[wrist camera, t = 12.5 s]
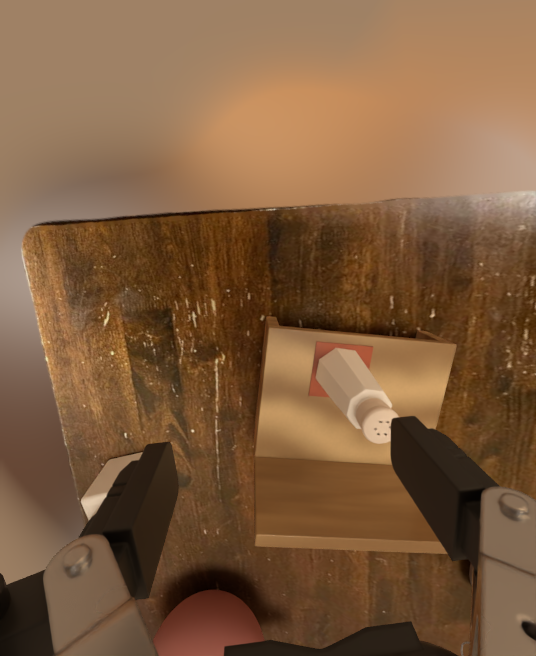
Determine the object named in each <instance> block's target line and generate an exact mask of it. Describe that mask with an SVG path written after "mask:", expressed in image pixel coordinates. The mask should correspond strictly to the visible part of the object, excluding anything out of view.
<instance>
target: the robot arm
mask: <svg viewBox="0 0 536 656" xmlns="http://www.w3.org/2000/svg"><path fill="white" fill-rule="evenodd" d="M390 456H391V462H392V466H393V469H394V471H395V473H396V475H397V476H398V478H399V479H400V481H401V482H402V484H403V486H404V487H405V489H406V490H407V492H408V493H409V495H410V496H411V498H412V499H413V501H414V503H415V504H416V506H417V507H418V509H419V510H420V512H421V513H422V515H423V516H424V518H425V519H426V521H427V523H428V524H429V526H430V527H431V529H432V530H433V532H434V533H435V535H436V536H437V538H438V540H439V541H440V543H441V544H442V546H443V547H444V549H445V550H446V552H447V553H448V555H449V557H450V558H451V560H452V561H457V560H464V559H468V560H469V561H470V563H471V564H472V566H473V574H472V596H471V620H470V643H469V656H536V500H534V499H533V498H531V497H530V496H528V495H526V494H524V493H522V492H520V491H517V490H514V489H511V488H506V487H500V486H499V485H498V484H497V483H496V482H495V481H494V480H492V479H491V478H490V477H489V476H488V475H487V474H486V473H485V472H484V471H483V470H482V469H481V468H480V467H479V466H478V465H477V464H476V463H475V462H474V461H473V460H472V459H471V458H469V457H467V456H466V454H465V453H464V452H463V451H462V450H461V449H460V448H458V446H457V445H456V444H455V443H454V442H453V441H452V440H451V439H450V438H449V437H447V436H446V435H444V434H442V433H440V432H439V431H437V430H435V429H433V428H430V429H428V428H427V427H426V426H425V425H424V424H423V423H422V422H421V421H420V420H419V419H418V418H417V417H415V416H406V417H397V418H393V419H392V421H391V446H390ZM112 485H113V486H112V487H111V488H110V490H109V491H108V493H107V497H106V498H104V500H103V502H102V504H101V505H100V507H99V509H98V511H97V512H96V514H95V516H94V518H93V519H92V521H91V523H90V525H89V526H88V528H87V530H86V532H85V533H84V535H83V537H81V538H78V539H76V540H74V541H72V542H71V543H69V544H67V545H66V546H65V547H63V548H62V549H61V550H60V551H59V552H58V553H57V554H56V555H55V556H54V557H53V558H52V559H51V561H50V562H49V564H48V566H47V567H46V569H45V570H43V571H41V572H39V573H36V574H33V575H31V576H28V577H26V578H23V579H20V580H18V581H15V582H13V583H10V584H8V585H6V582H5V580H4V578H3V575H2V574H1V573H0V656H159V655H158V653H157V650H156V648H155V645H154V643H153V641H152V638H151V636H150V633H149V631H148V629H147V626H146V624H145V621H144V619H143V617H142V614H141V612H140V610H139V607H138V605H137V603H136V600H138V599H146V598H149V595H150V591H151V588H152V584H153V580H154V577H155V573H156V570H157V566H158V563H159V559H160V556H161V552H162V549H163V545H164V542H165V538H166V535H167V531H168V528H169V524H170V521H171V517H172V514H173V510H174V507H175V503H176V500H177V496H178V476H177V471H176V466H175V460H174V455H173V450H172V445H171V443H170V442H163V443H154V444H148V445H147V446H146V447H145V449H144V451H143V453H142V455H141V457H140V459H139V460H135V461H131V462H130V463H129V464H128V465H127V466H126V467H125V468H123V469H122V470H121V471H120V472H119V474H118V476H117V477H116V479H115V481H114V483H113V484H112ZM224 656H458V655H456V654H454V653H452V652H451V651H448V650H446V649H444V648H442V647H440V646H437V645H434V644H431V643H428V642H424V641H419V639H418V636H417V634H416V632H415V629H414V627H413V625H412V622H403V623H396V624H388V625H381V626H373V627H366V628H364V629H362V630H360V631H358V632H356V633H354V634H352V635H350V636H348V637H346V638H344V639H342V640H340V641H338V642H336V643H334V644H332V645H330V646H328V647H326V648H323V649H315V648H310V647H304V646H299V645H294V644H289V643H283V642H278V641H273V640H268V641H261V642H253V643H246V644H238V645H231V646H224Z"/></svg>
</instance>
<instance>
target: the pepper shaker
mask: <svg viewBox="0 0 536 656" xmlns="http://www.w3.org/2000/svg"><path fill="white" fill-rule="evenodd" d="M316 380H317V381H318V382H319V384H320V385H321V386H322V388H323V389H324V390H325V392H326V393H327V394H328V395H329V397H330V398H331V399H332V400H333V401H334V403H335V404H336V405H337V406H338V408H339V409H340V410H341V411H342V412H343V414H344V415H345V416H346V417H347V418H348V420H349V421H350V422H351V423H352V425H353V426H354V427H355V428H357V429H362V432H363V434H364V436H365V437H366V439H367V440H369V441H370V442H373V443H377V444H382V443H387V442H389V441H391V421H392V419H393V418H397V417H399V416H398V414H397V413H396V412H395V411H393V410H392V409H391V407H392V403H391V402H390V400H389V398H388V397H387V395H386V394H385V393H384V391H383V390H382V388H381V387H380V385H379V384H378V382H377V381H376V379H375V378H374V377H373V375H372V374H371V372H370V371H369V369H368V368H367V366H366V365H365V364H364V362H363V361H362V359H361V358H360V356H359V355H358V353H357V352H356V351H355V350H348V349H341V348H335V349H333V350H332V351H331V352H329V353H328V354H326V355H325V356H323V357H322V358H320V359H319V363H318V368H317V373H316Z"/></svg>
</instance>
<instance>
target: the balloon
mask: <svg viewBox="0 0 536 656" xmlns="http://www.w3.org/2000/svg"><path fill="white" fill-rule="evenodd" d="M261 641H264V637H263V634H262V631H261V628H260V626H259V623H258V621H257V619H256V617H255V616H254V614H253V612H252V611H251V610H250V608H249V607H248V606H247V605H246V604H245V603H244V602H243V601H242V600H241V599H239V598H238V597H236V596H235V595H233V594H231V593H229V592H226V591H222V590H206V591H201V592H198V593H196V594H193V595H191V596H190V597H188V598H186V599H185V600H183V601H182V602H181V603H180V604H178V605H177V606H176V607H175V608H174V609H173V610H172V611H171V612H170V614H169V615H168V616H167V617H166V619H165V620H164V621H163V623H162V624H161V626H160V628H159V629H158V631H157V633H156V635H155V637H154V639H153V643H154V645H155V648H156V650H157V653H158V655H159V656H224V646H231V645H238V644H246V643H253V642H261Z"/></svg>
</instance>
